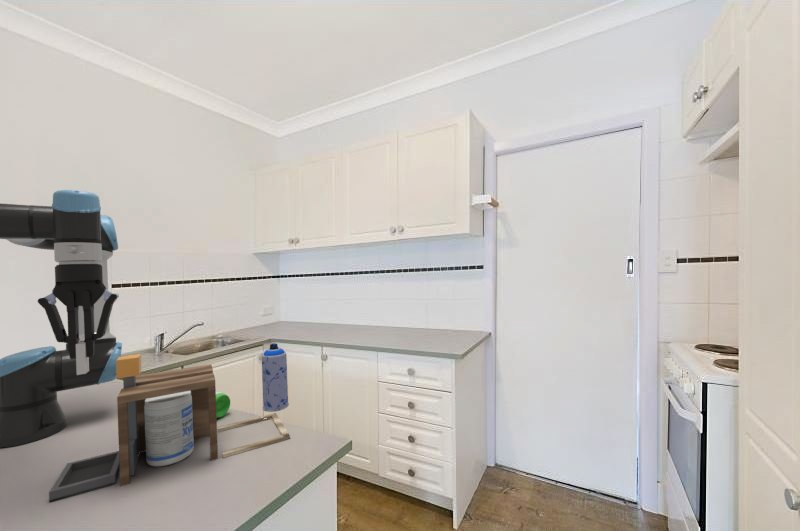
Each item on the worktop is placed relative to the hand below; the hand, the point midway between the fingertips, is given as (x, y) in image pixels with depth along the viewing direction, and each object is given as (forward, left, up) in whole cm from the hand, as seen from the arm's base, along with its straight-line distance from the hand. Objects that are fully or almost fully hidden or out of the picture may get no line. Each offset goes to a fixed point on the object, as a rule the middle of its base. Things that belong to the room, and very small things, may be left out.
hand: (83, 372), depth 75 cm
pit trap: (0, +1, -23) cm, 23 cm away
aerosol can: (-16, +43, -23) cm, 51 cm away
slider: (0, +8, -23) cm, 24 cm away
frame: (0, +33, -23) cm, 41 cm away
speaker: (-24, +22, -23) cm, 40 cm away
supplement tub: (0, +15, -23) cm, 28 cm away
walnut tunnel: (0, +16, -23) cm, 28 cm away
